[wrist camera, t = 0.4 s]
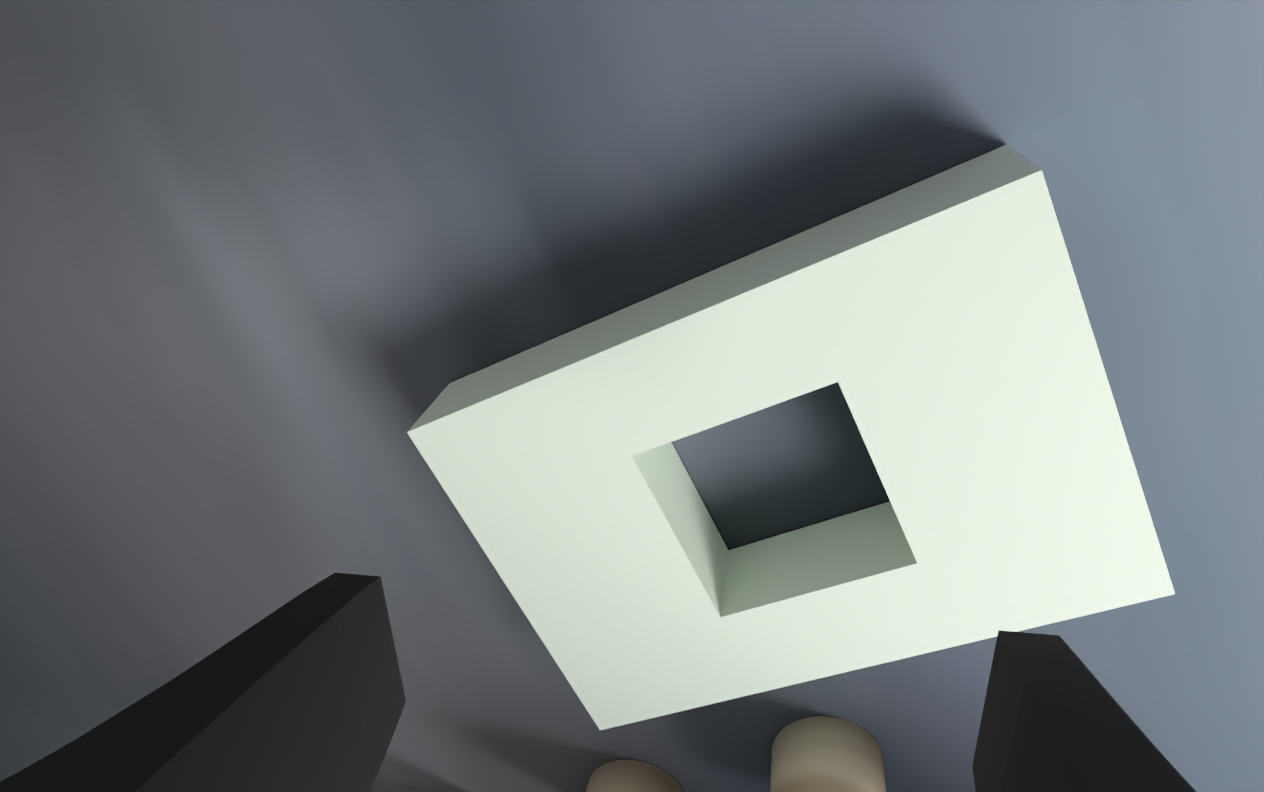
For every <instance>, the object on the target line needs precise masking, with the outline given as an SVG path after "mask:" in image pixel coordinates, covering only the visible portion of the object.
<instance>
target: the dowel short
mask: <svg viewBox="0 0 1264 792" xmlns="http://www.w3.org/2000/svg"><path fill="white" fill-rule="evenodd" d="M770 792H886V785H885V776H884V767H883V758H882V752H881V749H880V747H879V745H878V743H877V741H876V740H875V739H874V737H873V736H872V735H871V734H870V733H869V732H868V731H866V730H865V729H863V728H862V727H860V726H858V725H857V724H855V723H852V722H850V721H847V720H844V719H840V718H836V717H829V716H815V717H808V718H803V719H800V720H797V721H795V722H792V723H791V724H789V725H787V726H786V727H784V728H783V729H782V730H781V731H780V732H779V733H778V735H777V736H776V737H775V739H774V742H773V745H772V754H771V786H770Z"/></svg>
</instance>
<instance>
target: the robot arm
mask: <svg viewBox="0 0 1264 792" xmlns="http://www.w3.org/2000/svg"><path fill="white" fill-rule="evenodd" d="M405 702H406V700H405V696H404V691H403V686H402V681H401V676H400V671H399V666H398V661H397V656H396V651H395V646H394V641H393V636H392V631H391V626H390V621H389V617H388V612H387V607H386V602H385V597H384V592H383V587H382V582H381V577H378V576H367V575H355V574H344V573H334V574H332V575H331V576H329V577H327V578H326V579H324V580H322V581H321V582H319V583H317V584H316V585H314V586H313V587H311V588H309V589H308V590H306V591H305V592H303V593H302V594H300V595H299V596H297V597H295V598H294V599H292V600H291V601H289V602H288V603H286V604H285V605H283V606H282V607H280V608H279V609H277V610H276V611H275V612H273V613H272V614H270V615H269V616H267V617H266V618H264V619H263V620H261V621H260V622H258V623H257V624H255V625H254V626H252V627H251V628H249V629H248V630H246V631H245V632H243V633H242V634H240V635H239V636H237V637H236V638H234V639H233V640H231V641H230V642H228V643H227V644H225V645H224V646H222V647H221V648H219V649H218V650H216V651H215V652H213V653H212V654H210V655H209V656H207V657H206V658H204V659H203V660H201V661H200V662H198V663H197V664H195V665H194V666H192V667H191V668H189V669H188V670H186V671H185V672H183V673H182V674H180V675H179V676H177V677H176V678H174V679H173V680H171V681H170V682H168V683H166V684H165V685H163V686H162V687H160V688H158V689H157V690H155V691H153V692H152V693H150V694H149V695H147V696H145V697H144V698H142V699H140V700H139V701H137V702H136V703H134V704H132V705H131V706H129V707H128V708H126V709H124V710H123V711H121V712H119V713H118V714H116V715H115V716H113V717H111V718H110V719H108V720H107V721H105V722H103V723H102V724H100V725H98V726H97V727H95V728H94V729H92V730H90V731H89V732H87V733H86V734H84V735H82V736H81V737H79V738H77V739H76V740H74V741H72V742H71V743H69V744H67V745H65V746H64V747H62V748H60V749H59V750H57V751H55V752H53V753H52V754H50V755H48V756H46V757H45V758H43V759H41V760H39V761H37V762H36V763H34V764H32V765H30V766H29V767H27V768H25V769H23V770H21V771H20V772H18V773H16V774H14V775H12V776H10V777H8V778H7V779H5V780H3V781H1V782H0V792H369V790H370V788H371V786H372V784H373V782H374V780H375V778H376V776H377V773H378V771H379V768H380V766H381V764H382V761H383V759H384V756H385V754H386V751H387V749H388V747H389V744H390V741H391V739H392V736H393V734H394V731H395V728H396V726H397V723H398V720H399V718H400V715H401V712H402V710H403V707H404V704H405ZM973 773H974V780H975V788H976V792H1196V791H1195V790H1194V789H1193V787H1192V786H1191V785H1190V784H1189V783H1188V782H1187V781H1186V780H1185V779H1184V778H1183V777H1182V776H1181V775H1180V773H1179V772H1178V771H1177V770H1176V769H1175V768H1174V767H1173V766H1172V765H1171V764H1170V762H1169V761H1168V760H1167V759H1166V758H1165V757H1164V756H1163V755H1162V753H1161V752H1160V751H1159V750H1158V749H1157V748H1156V747H1155V746H1154V745H1153V743H1152V742H1151V741H1150V740H1149V739H1148V738H1147V737H1146V735H1145V734H1144V733H1143V732H1142V731H1141V730H1140V729H1139V727H1138V726H1137V725H1136V724H1135V723H1134V722H1133V720H1132V719H1131V718H1130V717H1129V716H1128V715H1127V714H1126V712H1125V711H1124V710H1123V709H1122V708H1121V707H1120V706H1119V704H1118V703H1117V702H1116V701H1115V700H1114V699H1113V697H1112V696H1111V695H1110V694H1109V693H1108V692H1107V690H1106V689H1105V688H1104V687H1103V686H1102V685H1101V683H1100V682H1099V681H1098V680H1097V679H1096V678H1095V676H1094V675H1093V674H1092V673H1091V672H1090V671H1089V669H1088V668H1087V667H1086V666H1085V665H1084V664H1083V662H1082V661H1081V660H1080V659H1079V658H1078V657H1077V655H1076V654H1075V653H1074V652H1073V651H1072V650H1071V649H1070V647H1069V646H1068V645H1067V644H1066V643H1065V642H1064V641H1063V640H1062V638H1061V637H1060V636H1057V635H1045V634H1034V633H1022V632H1011V631H998V636H997V641H996V647H995V652H994V657H993V662H992V667H991V673H990V678H989V683H988V688H987V693H986V699H985V704H984V709H983V714H982V719H981V725H980V730H979V735H978V740H977V746H976V751H975V756H974V761H973Z"/></svg>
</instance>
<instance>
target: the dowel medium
mask: <svg viewBox="0 0 1264 792" xmlns="http://www.w3.org/2000/svg"><path fill="white" fill-rule="evenodd" d="M586 792H683V790H682V788H681V786H680V785H679V783H678V782H677V781H676V780H675V779H674V778H673V777H672V776H671V775H670V774H669V773H667V772H666V771H664V770H663V769H661V768H659V767H657V766H655V765H652V764H649V763H646V762H642V761H637V760H616V761H611V762H608V763H606V764H603V765H602V766H600V767H598V768H597V769H596V770H595V771H594V772H593V773H592V775H591V776H590V778H589V781H588V785H587V789H586Z"/></svg>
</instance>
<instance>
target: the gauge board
mask: <svg viewBox="0 0 1264 792" xmlns="http://www.w3.org/2000/svg"><path fill="white" fill-rule="evenodd" d="M837 382H838V383H839V386H840V388H841V390H842V392H843V395H844V397H845V399H846V402H847V404H848V406H849V408H850V411H851V413H852V415H853V418H854V420H855V422H856V424H857V427H858V429H859V431H860V434H861V436H862V438H863V440H864V443H865V445H866V447H867V450H868V452H869V454H870V456H871V459H872V461H873V463H874V466H875V468H876V470H877V472H878V475H879V477H880V479H881V482H882V484H883V486H884V488H885V491H886V493H887V495H888V498H889V500H890V501H889V502H886V503H883V504H880V505H876V506H873V507H870V508H866V509H863V510H860V511H856V512H853V513H850V514H847V515H843V516H840V517H837V518H833V519H830V520H827V521H823V522H820V523H817V524H814V525H810V526H807V527H804V528H800V529H797V530H794V531H790V532H787V533H784V534H781V535H777V536H774V537H771V538H767V539H764V540H761V541H757V542H754V543H751V544H748V545H744V546H741V547H738V548H734V549H731V550H728V549H727V547H726V545H725V543H724V541H723V539H722V537H721V535H720V533H719V532H718V530H717V528H716V526H715V524H714V522H713V520H712V518H711V516H710V514H709V513H708V511H707V509H706V507H705V505H704V503H703V501H702V499H701V497H700V496H699V494H698V492H697V490H696V488H695V486H694V484H693V482H692V480H691V478H690V477H689V475H688V473H687V471H686V469H685V467H684V465H683V463H682V461H681V460H680V458H679V456H678V454H677V452H676V450H675V448H674V446H673V444H672V442H673V441H675V440H678V439H681V438H684V437H687V436H689V435H692V434H695V433H698V432H700V431H703V430H706V429H709V428H712V427H714V426H717V425H720V424H723V423H725V422H728V421H731V420H734V419H737V418H739V417H742V416H745V415H748V414H750V413H753V412H756V411H759V410H762V409H764V408H767V407H770V406H773V405H776V404H778V403H781V402H784V401H787V400H789V399H792V398H795V397H798V396H801V395H803V394H806V393H809V392H812V391H814V390H817V389H820V388H823V387H826V386H828V385H831V384H834V383H837ZM407 433H408V435H409V436H410V438H411V439H412V441H413V443H414V444H415V446H416V447H417V449H418V450H419V452H420V453H421V455H422V456H423V458H424V460H425V461H426V463H427V464H428V466H429V467H430V469H431V470H432V472H433V473H434V475H435V476H436V478H437V480H438V481H439V483H440V484H441V486H442V487H443V489H444V490H445V492H446V493H447V495H448V497H449V498H450V500H451V501H452V503H453V504H454V506H455V507H456V509H457V510H458V512H459V513H460V515H461V517H462V518H463V520H464V521H465V523H466V524H467V526H468V527H469V529H470V530H471V532H472V534H473V535H474V537H475V538H476V540H477V541H478V543H479V544H480V546H481V547H482V549H483V551H484V552H485V554H486V555H487V557H488V558H489V560H490V561H491V563H492V564H493V566H494V567H495V569H496V571H497V572H498V574H499V575H500V577H501V578H502V580H503V581H504V583H505V584H506V586H507V588H508V589H509V591H510V592H511V594H512V595H513V597H514V598H515V600H516V601H517V603H518V605H519V606H520V608H521V609H522V611H523V612H524V614H525V615H526V617H527V618H528V620H529V621H530V623H531V625H532V626H533V628H534V629H535V631H536V632H537V634H538V635H539V637H540V638H541V640H542V642H543V643H544V645H545V646H546V648H547V649H548V651H549V652H550V654H551V655H552V657H553V658H554V660H555V662H556V663H557V665H558V666H559V668H560V669H561V671H562V672H563V674H564V675H565V677H566V679H567V680H568V682H569V683H570V685H571V686H572V688H573V689H574V691H575V692H576V694H577V696H578V697H579V699H580V700H581V702H582V703H583V705H584V706H585V708H586V709H587V711H588V712H589V714H590V716H591V717H592V719H593V720H594V722H595V723H596V725H597V726H598V728H599V729H600V730H605V729H609V728H613V727H617V726H621V725H626V724H630V723H634V722H638V721H642V720H647V719H651V718H655V717H659V716H664V715H668V714H672V713H676V712H680V711H685V710H689V709H693V708H697V707H701V706H706V705H710V704H714V703H718V702H723V701H727V700H731V699H735V698H739V697H744V696H748V695H752V694H756V693H760V692H765V691H769V690H773V689H777V688H781V687H786V686H790V685H794V684H798V683H803V682H807V681H811V680H815V679H819V678H824V677H828V676H832V675H836V674H840V673H845V672H849V671H853V670H857V669H862V668H866V667H870V666H874V665H878V664H883V663H887V662H891V661H895V660H899V659H904V658H908V657H912V656H916V655H921V654H925V653H929V652H933V651H937V650H942V649H946V648H950V647H954V646H958V645H963V644H967V643H971V642H975V641H979V640H984V639H988V638H992V637H996V636H998V631H1011V632H1017V631H1022V630H1026V629H1030V628H1034V627H1038V626H1043V625H1047V624H1051V623H1055V622H1060V621H1064V620H1068V619H1072V618H1076V617H1081V616H1085V615H1089V614H1093V613H1097V612H1102V611H1106V610H1110V609H1114V608H1118V607H1123V606H1127V605H1131V604H1135V603H1140V602H1144V601H1148V600H1152V599H1156V598H1161V597H1165V596H1169V595H1173V594H1175V592H1174V589H1173V586H1172V582H1171V579H1170V576H1169V573H1168V570H1167V567H1166V563H1165V560H1164V557H1163V554H1162V551H1161V547H1160V544H1159V541H1158V538H1157V535H1156V532H1155V528H1154V525H1153V522H1152V519H1151V516H1150V513H1149V509H1148V506H1147V503H1146V500H1145V497H1144V493H1143V490H1142V487H1141V484H1140V481H1139V478H1138V474H1137V471H1136V468H1135V465H1134V462H1133V459H1132V455H1131V452H1130V449H1129V446H1128V443H1127V439H1126V436H1125V433H1124V430H1123V427H1122V424H1121V420H1120V417H1119V414H1118V411H1117V408H1116V405H1115V401H1114V398H1113V395H1112V392H1111V389H1110V385H1109V382H1108V379H1107V376H1106V373H1105V370H1104V366H1103V363H1102V360H1101V357H1100V354H1099V351H1098V347H1097V344H1096V341H1095V338H1094V335H1093V331H1092V328H1091V325H1090V322H1089V319H1088V316H1087V312H1086V309H1085V306H1084V303H1083V300H1082V297H1081V293H1080V290H1079V287H1078V284H1077V281H1076V277H1075V274H1074V271H1073V268H1072V265H1071V262H1070V258H1069V255H1068V252H1067V249H1066V246H1065V242H1064V239H1063V236H1062V233H1061V230H1060V227H1059V223H1058V220H1057V217H1056V214H1055V211H1054V208H1053V204H1052V201H1051V198H1050V195H1049V192H1048V188H1047V185H1046V182H1045V179H1044V176H1043V173H1042V170H1041V169H1040V168H1038V167H1037V166H1036V165H1034V164H1033V163H1032V162H1030V161H1029V160H1028V159H1026V158H1025V157H1024V156H1022V155H1021V154H1020V153H1018V152H1017V151H1016V150H1014V149H1013V148H1012V147H1010V146H1009V145H1008V144H1006V145H1004V146H1002V147H999V148H997V149H995V150H992V151H990V152H988V153H985V154H983V155H981V156H978V157H976V158H974V159H971V160H969V161H967V162H964V163H962V164H960V165H957V166H955V167H953V168H950V169H948V170H946V171H943V172H941V173H939V174H936V175H934V176H932V177H929V178H927V179H925V180H922V181H920V182H918V183H915V184H913V185H911V186H908V187H906V188H904V189H901V190H899V191H897V192H894V193H892V194H890V195H887V196H885V197H883V198H880V199H878V200H876V201H873V202H871V203H869V204H866V205H864V206H862V207H859V208H857V209H855V210H852V211H850V212H848V213H845V214H843V215H841V216H838V217H836V218H834V219H831V220H829V221H827V222H824V223H822V224H820V225H817V226H815V227H813V228H810V229H808V230H806V231H803V232H801V233H799V234H796V235H794V236H792V237H789V238H787V239H785V240H782V241H780V242H778V243H775V244H773V245H771V246H768V247H766V248H764V249H761V250H759V251H757V252H754V253H752V254H750V255H747V256H745V257H743V258H740V259H738V260H736V261H733V262H731V263H729V264H726V265H724V266H722V267H719V268H717V269H715V270H712V271H710V272H708V273H705V274H703V275H701V276H698V277H696V278H694V279H691V280H689V281H687V282H684V283H682V284H680V285H677V286H675V287H673V288H670V289H668V290H666V291H663V292H661V293H659V294H657V295H654V296H652V297H650V298H647V299H645V300H643V301H640V302H638V303H636V304H633V305H631V306H629V307H626V308H624V309H622V310H619V311H617V312H615V313H612V314H610V315H608V316H605V317H603V318H601V319H598V320H596V321H594V322H591V323H589V324H587V325H584V326H582V327H580V328H577V329H575V330H573V331H570V332H568V333H566V334H563V335H561V336H559V337H556V338H554V339H552V340H549V341H547V342H545V343H542V344H540V345H538V346H535V347H533V348H531V349H528V350H526V351H524V352H521V353H519V354H517V355H514V356H512V357H510V358H507V359H505V360H503V361H500V362H498V363H496V364H493V365H491V366H489V367H486V368H484V369H482V370H479V371H477V372H475V373H472V374H470V375H468V376H465V377H463V378H461V379H458V380H456V381H454V382H451V383H449V384H448V386H447V387H446V388H445V389H444V390H443V391H442V392H441V394H440V395H439V396H438V397H437V398H436V399H435V401H434V402H433V403H432V404H431V405H430V406H429V407H428V409H427V410H426V411H425V412H424V413H423V414H422V415H421V417H420V418H419V419H418V420H417V421H416V422H415V423H414V425H413V426H412V427H411V428H410V429H409V430H408V431H407Z"/></svg>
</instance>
